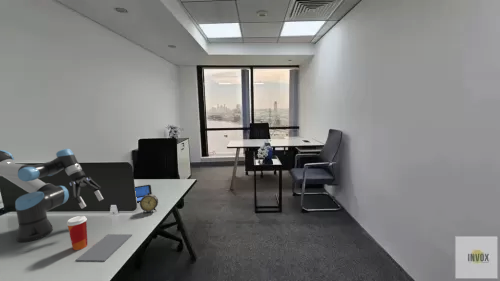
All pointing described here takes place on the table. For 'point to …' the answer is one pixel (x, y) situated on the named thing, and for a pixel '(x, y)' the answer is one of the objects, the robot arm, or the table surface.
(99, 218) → the table surface
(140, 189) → the handheld game console
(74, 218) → the coffee cup
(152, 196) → the alarm clock
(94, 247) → the mat
